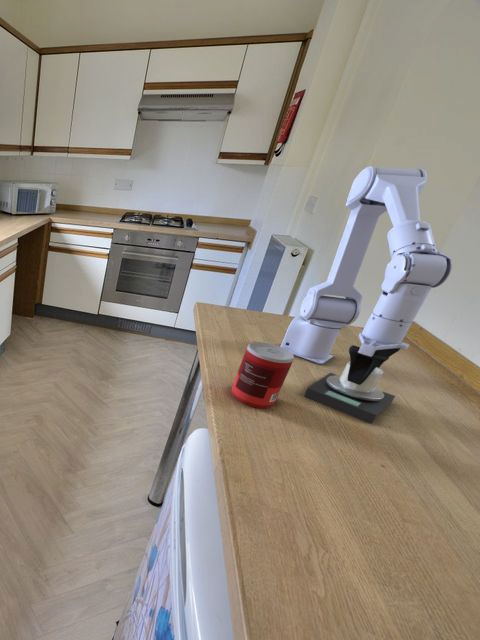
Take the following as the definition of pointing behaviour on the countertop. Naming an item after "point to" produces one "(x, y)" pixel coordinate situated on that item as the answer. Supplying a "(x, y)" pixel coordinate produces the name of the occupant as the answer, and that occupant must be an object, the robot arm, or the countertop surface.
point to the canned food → (261, 374)
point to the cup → (366, 385)
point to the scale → (347, 401)
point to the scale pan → (370, 396)
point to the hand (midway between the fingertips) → (359, 378)
